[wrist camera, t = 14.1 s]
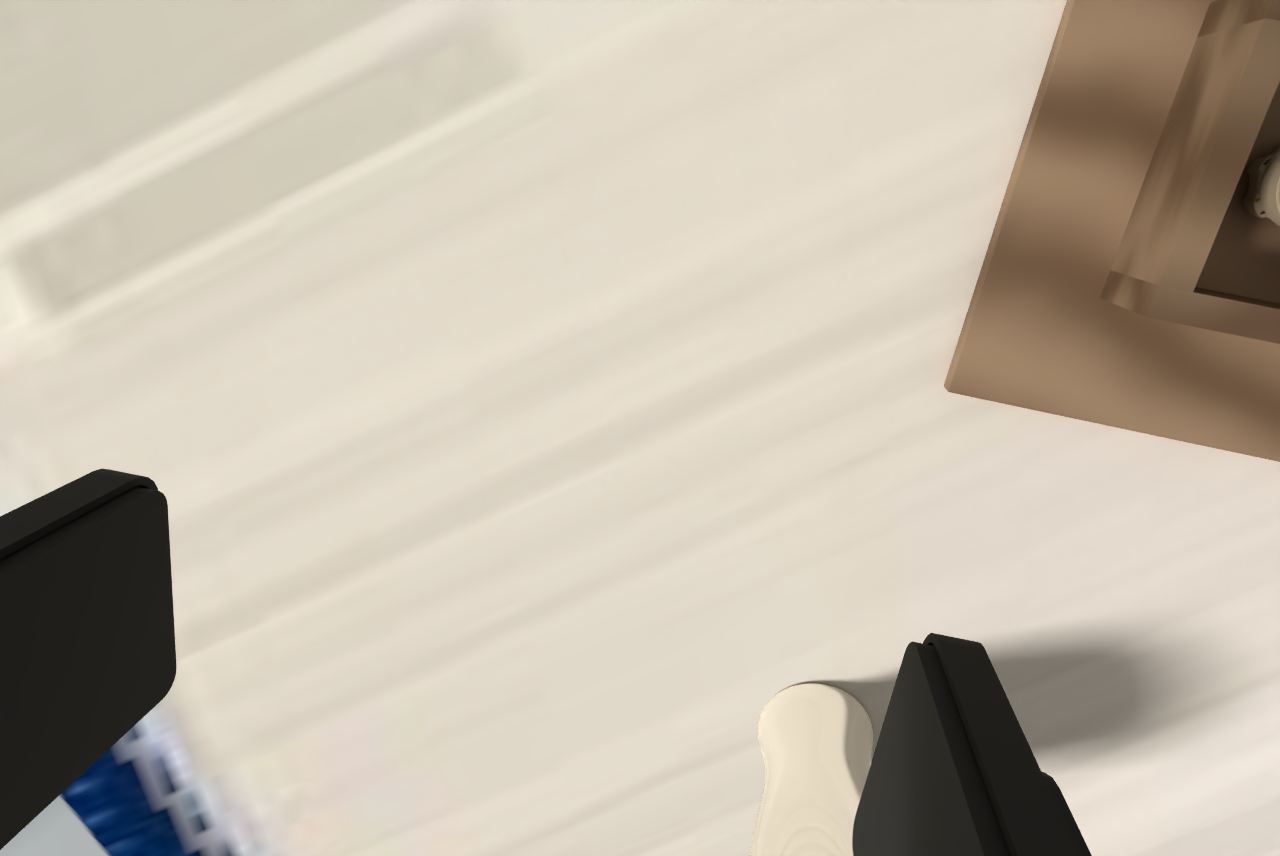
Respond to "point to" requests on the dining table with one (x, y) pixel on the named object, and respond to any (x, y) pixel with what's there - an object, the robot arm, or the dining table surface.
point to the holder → (1140, 231)
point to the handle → (1264, 187)
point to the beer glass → (811, 771)
